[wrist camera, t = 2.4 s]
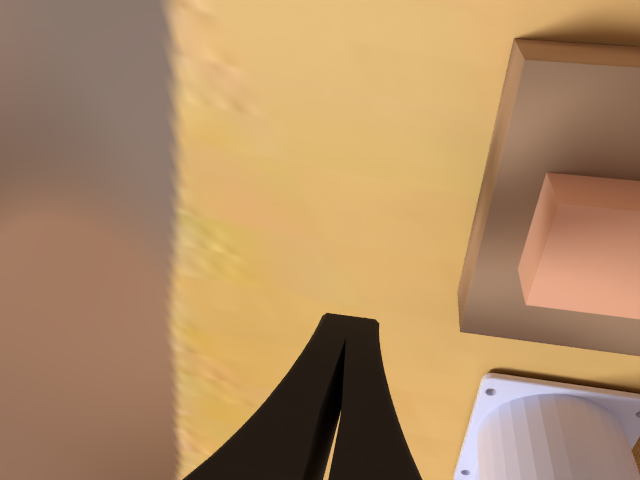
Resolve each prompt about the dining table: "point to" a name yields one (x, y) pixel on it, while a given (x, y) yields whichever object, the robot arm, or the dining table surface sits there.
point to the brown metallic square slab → (528, 176)
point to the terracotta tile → (584, 246)
